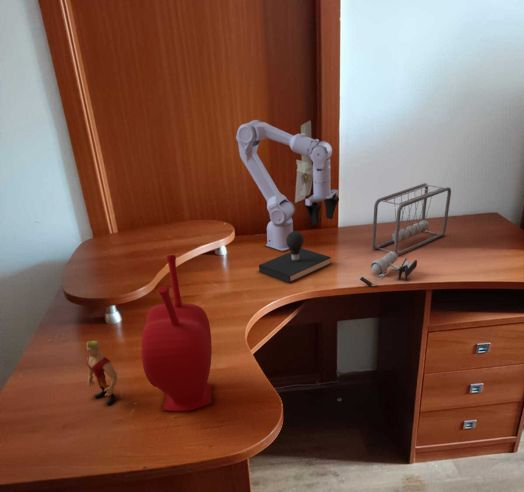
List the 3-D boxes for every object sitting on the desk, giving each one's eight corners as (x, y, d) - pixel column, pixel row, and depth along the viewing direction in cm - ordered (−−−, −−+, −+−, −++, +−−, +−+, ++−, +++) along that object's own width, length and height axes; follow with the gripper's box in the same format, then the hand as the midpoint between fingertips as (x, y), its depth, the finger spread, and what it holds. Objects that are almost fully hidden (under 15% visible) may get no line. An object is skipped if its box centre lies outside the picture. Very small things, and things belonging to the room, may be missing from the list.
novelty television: (163, 372, 120) (140, 252, 104) (217, 367, 120) (202, 247, 105) (153, 430, 102) (123, 295, 87) (217, 424, 103) (199, 289, 87)
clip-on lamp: (383, 300, 152) (419, 270, 159) (383, 283, 147) (420, 253, 155) (353, 286, 159) (389, 258, 166) (352, 269, 154) (389, 241, 162)
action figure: (86, 395, 114) (69, 337, 106) (100, 387, 116) (84, 330, 108) (112, 410, 109) (97, 351, 101) (126, 402, 111) (111, 343, 103)
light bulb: (306, 258, 169) (306, 229, 164) (300, 265, 165) (299, 235, 159) (290, 257, 171) (289, 228, 166) (284, 263, 167) (283, 233, 161)
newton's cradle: (421, 229, 194) (426, 181, 185) (445, 235, 188) (452, 186, 178) (370, 250, 179) (374, 199, 169) (395, 257, 172) (399, 205, 162)
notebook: (259, 272, 168) (258, 264, 167) (300, 254, 179) (300, 247, 178) (289, 283, 159) (289, 275, 158) (331, 264, 170) (331, 257, 169)
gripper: (316, 187, 163) (317, 228, 170) (345, 178, 171) (344, 217, 178) (300, 184, 167) (301, 225, 174) (329, 175, 175) (329, 214, 182)
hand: (322, 221), depth 176 cm, fingers open, 7 cm apart
